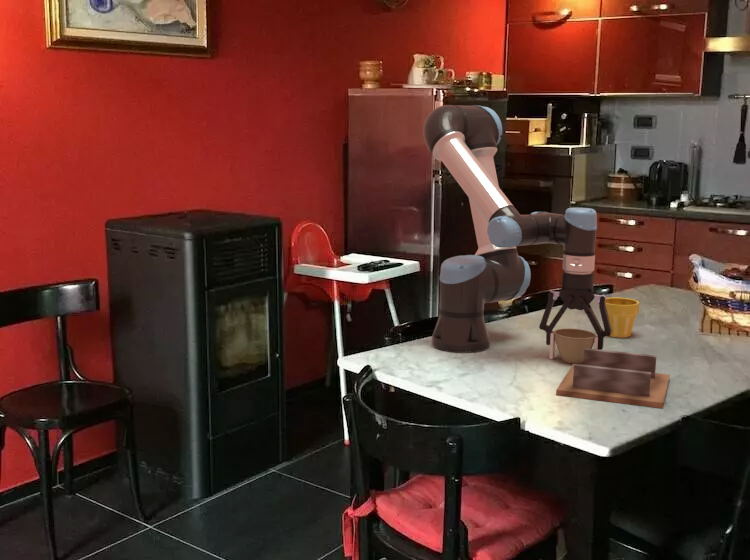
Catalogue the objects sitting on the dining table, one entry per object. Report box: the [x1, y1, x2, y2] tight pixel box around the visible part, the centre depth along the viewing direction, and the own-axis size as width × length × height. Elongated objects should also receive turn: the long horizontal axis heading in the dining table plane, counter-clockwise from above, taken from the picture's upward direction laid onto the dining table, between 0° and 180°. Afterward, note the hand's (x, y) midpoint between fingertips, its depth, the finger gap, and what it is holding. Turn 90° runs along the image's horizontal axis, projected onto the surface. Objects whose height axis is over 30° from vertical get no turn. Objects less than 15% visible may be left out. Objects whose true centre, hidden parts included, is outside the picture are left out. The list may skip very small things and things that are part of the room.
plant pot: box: [605, 296, 640, 339], centre depth 238 cm, size 10×10×10 cm
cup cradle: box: [555, 348, 670, 409], centre depth 191 cm, size 22×22×6 cm
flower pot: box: [553, 328, 597, 365], centre depth 212 cm, size 10×10×7 cm
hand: (573, 360), depth 212 cm, fingers closed on flower pot, 10 cm apart
